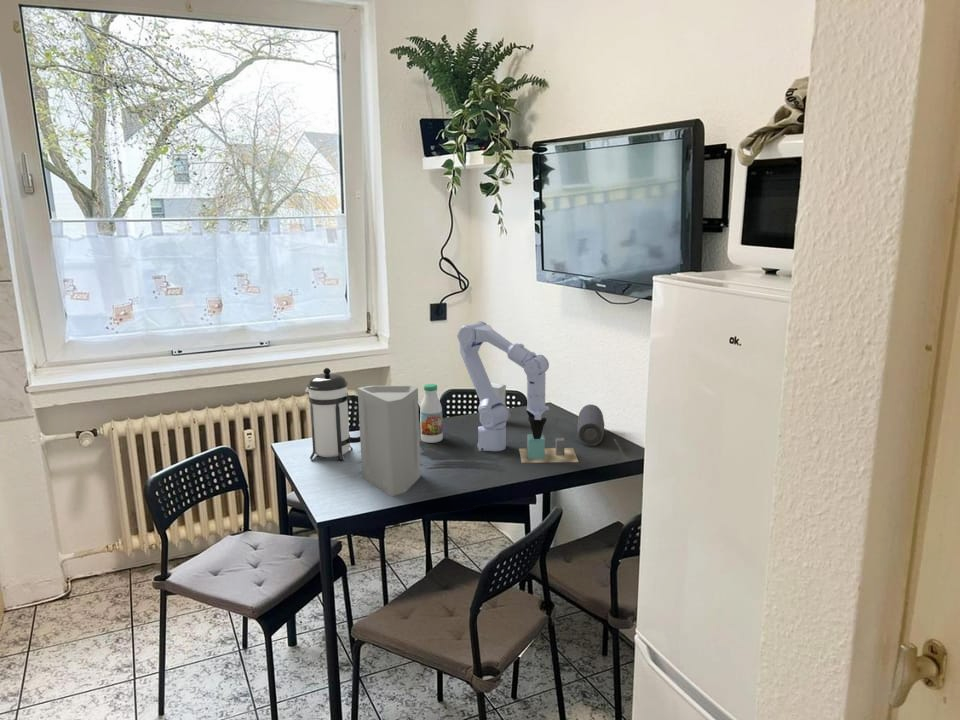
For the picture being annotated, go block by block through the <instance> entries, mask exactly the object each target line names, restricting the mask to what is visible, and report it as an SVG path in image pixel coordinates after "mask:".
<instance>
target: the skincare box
mask: <svg viewBox="0 0 960 720" xmlns="http://www.w3.org/2000/svg"><path fill="white" fill-rule="evenodd" d="M490 383H491V385H492V388H493V390H494V393H495V395H496V396H497V397H499V398H501V399H502V401H503V403H504V404H505V405H506V394H507V391H506V389H507V385H506V384H502V383H496V382H490Z"/></svg>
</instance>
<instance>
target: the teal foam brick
mask: <svg viewBox="0 0 960 720" xmlns="http://www.w3.org/2000/svg"><path fill="white" fill-rule="evenodd" d="M526 438H527V439H526V440H527V443H526V444H527V445H526V446H527V447H526V449H527V455H528V459H545V448H546V447H545V446H546V439H545V435H544V434H543V433H542V435H541V439H534V437H533V433H532V434H531V433H530V434H528V433H527V437H526Z"/></svg>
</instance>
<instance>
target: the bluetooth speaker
mask: <svg viewBox="0 0 960 720" xmlns="http://www.w3.org/2000/svg"><path fill="white" fill-rule="evenodd" d="M603 414H604V413H603V412H602V410H601V409H600V408H599V406H597V405H595V404H586V405H584V406H583V407H582V408H581V409H580V412H579V413H578V417H577V425H576V426H577V428H576V429H577V436H578V439H579V441H580V443H582V444H583V445H584V446H592V447H593V446H594V447H595V446H598V445H599V444H600V443H601V442H602V440H603V438H604V434H605V419H604V415H603Z"/></svg>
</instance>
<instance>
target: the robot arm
mask: <svg viewBox="0 0 960 720" xmlns="http://www.w3.org/2000/svg"><path fill="white" fill-rule="evenodd" d="M456 337H457V340H458V342H459V350H460V351H459V353H460V355H461V358H462V361H463V363H464V365H465V367H466V370H467V373H468V374H469V378H470V380H471V383H472V385H473V387H474V389H475V392H476V394H477V397H478V399H479V402H480V403H479V405H478V408H477V410H478V414H479V423H480V424H481V425H480V426H478V427H477V429H478V430H477V431H478V433H477V434H478V436H477V437H478V442H477V449H478V451H479V452H480V451H482V452H501V451H503V450H505V449H506V446H507V443H506V441H507V440H506V438H507V437H506V436H507V435H506V432H507V431H506V429H507V428H506V425H507V421H508V420H509V419H510V413H511V412H510V409H509V407H507V405H506V403H505V404H504V403H503V401H502V399H501V398H499V397H497V396H496V395H495V393H494V390H493V388H492V385H491V383H492V382H491V381H490V379H489V376H488V373H487V371H486V368H485V367H484V364H483V362H482V358H481V356H480V354H479V351H480V348H481V346H482V345H483V343H488V344H491V346H493V347H496V348H498V349H499V350H501V351H503V352H505V353H506V354H507V358H508V360H509V361H512V362H513V363H515V364H516V365H518V366H519V367H520V368H522V369H523V371H524V373H525V375H526V380H527V381H526V382H527V383H526V390H527V391H526V395H527V397H526V398H527V401H526V402H527V404H526V413H527V414H528V415H527V416H528V418H527V419H528V422H529V423H530V429H531V432H532V434H533V437H534V439H541V435H542V434H543V428H544V427H545V424H546V422H547V417H542V416H543V414H544V412H546V411H549V410H550V407H549V406H547V405H546V372H547V371H548V370H549V367H550V364H549V363H550V362H549V361H548V360H549V359H548V358H547V357H546V356H544V355H543V354H536V352H534V351H531V350H530V349H528V348H526V347H525V344H523V343H514V344H513V343H512V342H510V341H509V340H508V339H506V337H504V336H503V335H501V334H500V333H499V332H497V331H496V330H494V329H493V327H492V326H491V325H490V324H487V323H486V322H485V321H482V320H481V321H480V320H479V321H477V322H473V323H469V324H463V325H462V326H461V327H460V328H459V330H458V332H457V335H456Z"/></svg>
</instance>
